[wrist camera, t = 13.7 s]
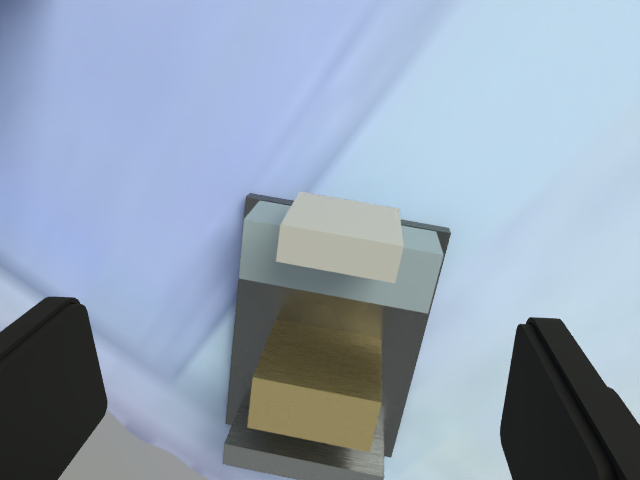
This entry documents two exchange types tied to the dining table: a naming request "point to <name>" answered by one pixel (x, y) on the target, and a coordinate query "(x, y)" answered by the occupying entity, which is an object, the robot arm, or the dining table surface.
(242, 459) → the panel
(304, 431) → the block
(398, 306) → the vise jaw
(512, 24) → the dining table surface
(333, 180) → the dining table surface
